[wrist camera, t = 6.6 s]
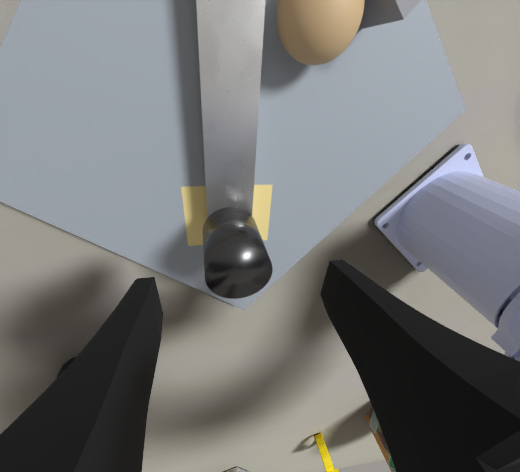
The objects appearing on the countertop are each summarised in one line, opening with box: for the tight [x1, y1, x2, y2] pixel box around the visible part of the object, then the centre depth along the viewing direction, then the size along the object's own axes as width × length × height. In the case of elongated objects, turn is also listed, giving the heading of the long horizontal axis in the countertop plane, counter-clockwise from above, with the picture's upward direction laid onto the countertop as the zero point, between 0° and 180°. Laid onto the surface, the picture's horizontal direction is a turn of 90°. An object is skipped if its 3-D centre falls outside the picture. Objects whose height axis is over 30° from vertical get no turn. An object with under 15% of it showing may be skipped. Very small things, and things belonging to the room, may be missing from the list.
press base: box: [0, 0, 466, 310], centre depth 12 cm, size 18×20×4 cm
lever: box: [196, 0, 273, 299], centre depth 9 cm, size 16×4×5 cm, turn 176°
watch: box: [314, 433, 339, 472], centre depth 45 cm, size 6×3×6 cm, turn 13°
